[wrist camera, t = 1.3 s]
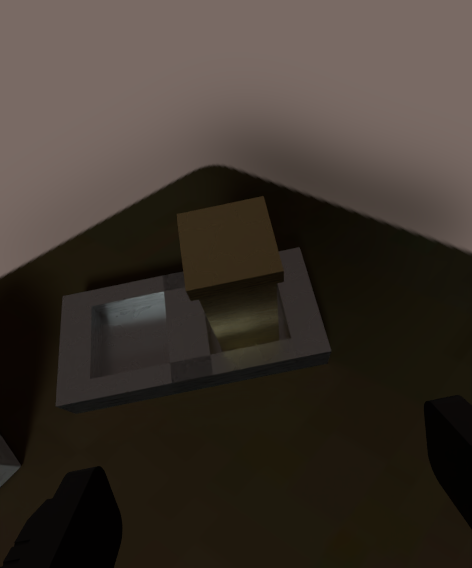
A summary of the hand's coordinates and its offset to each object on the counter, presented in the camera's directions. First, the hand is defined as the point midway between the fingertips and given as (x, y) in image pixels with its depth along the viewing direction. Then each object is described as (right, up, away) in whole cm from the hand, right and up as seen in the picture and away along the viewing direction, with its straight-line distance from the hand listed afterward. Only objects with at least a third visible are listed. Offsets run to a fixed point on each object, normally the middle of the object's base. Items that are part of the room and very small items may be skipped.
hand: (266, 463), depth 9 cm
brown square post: (0, +1, +21) cm, 21 cm away
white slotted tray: (-4, 0, +22) cm, 23 cm away
